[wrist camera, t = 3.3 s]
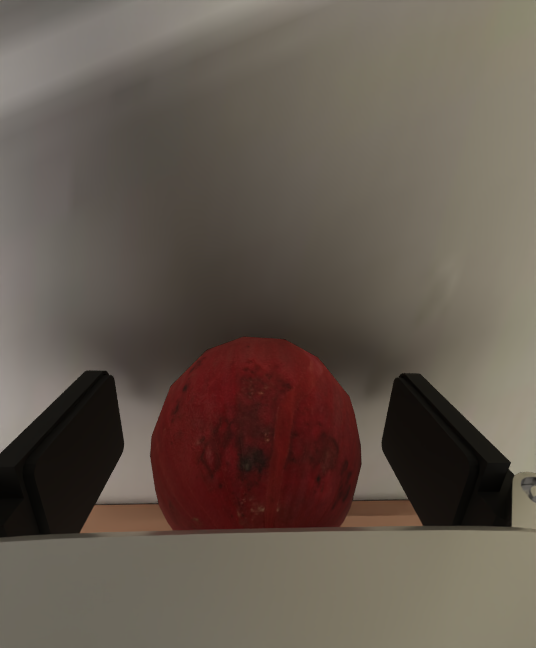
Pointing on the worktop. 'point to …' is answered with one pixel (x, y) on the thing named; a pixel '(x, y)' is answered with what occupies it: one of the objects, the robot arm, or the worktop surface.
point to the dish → (154, 520)
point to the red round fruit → (255, 441)
